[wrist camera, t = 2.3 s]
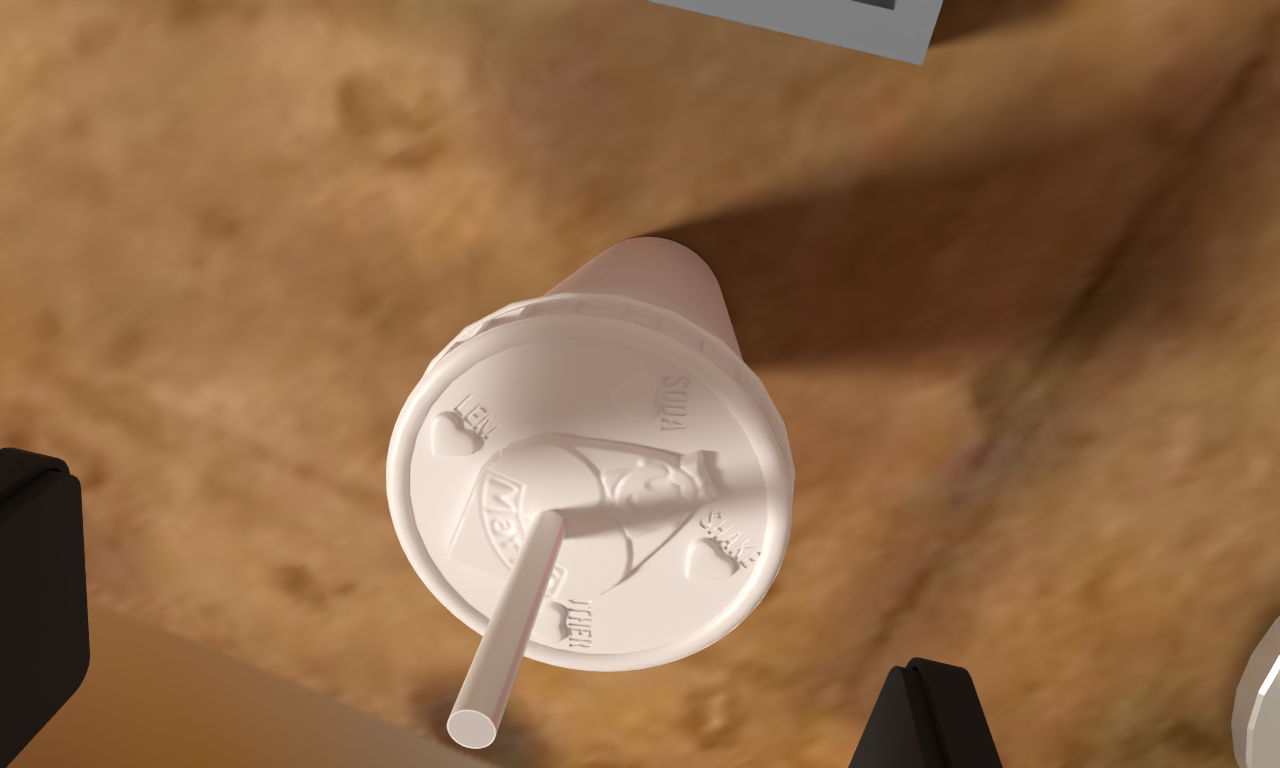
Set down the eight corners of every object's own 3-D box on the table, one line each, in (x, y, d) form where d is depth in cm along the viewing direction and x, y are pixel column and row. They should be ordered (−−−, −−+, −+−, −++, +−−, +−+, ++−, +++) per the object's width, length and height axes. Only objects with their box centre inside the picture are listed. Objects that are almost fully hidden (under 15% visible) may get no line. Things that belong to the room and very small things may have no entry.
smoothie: (481, 234, 22) (121, 555, 10) (728, 139, 21) (689, 370, 8) (583, 453, 24) (398, 956, 12) (814, 382, 23) (891, 873, 10)
